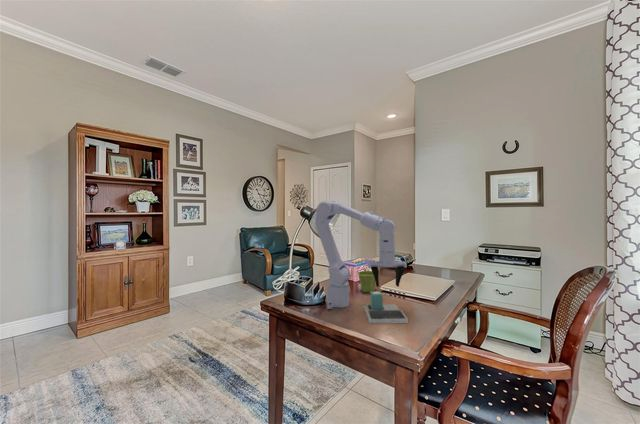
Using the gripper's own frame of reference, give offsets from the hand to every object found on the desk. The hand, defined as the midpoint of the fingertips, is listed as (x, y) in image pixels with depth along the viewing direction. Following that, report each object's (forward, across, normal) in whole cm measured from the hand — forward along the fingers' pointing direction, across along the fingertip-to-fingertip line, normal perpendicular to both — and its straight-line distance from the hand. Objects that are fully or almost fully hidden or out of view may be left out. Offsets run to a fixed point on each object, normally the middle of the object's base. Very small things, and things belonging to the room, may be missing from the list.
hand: (387, 285), depth 101 cm
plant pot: (+11, -4, +25) cm, 27 cm away
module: (+10, -4, +2) cm, 10 cm away
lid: (+10, -2, +2) cm, 11 cm away
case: (+10, -2, -6) cm, 12 cm away
